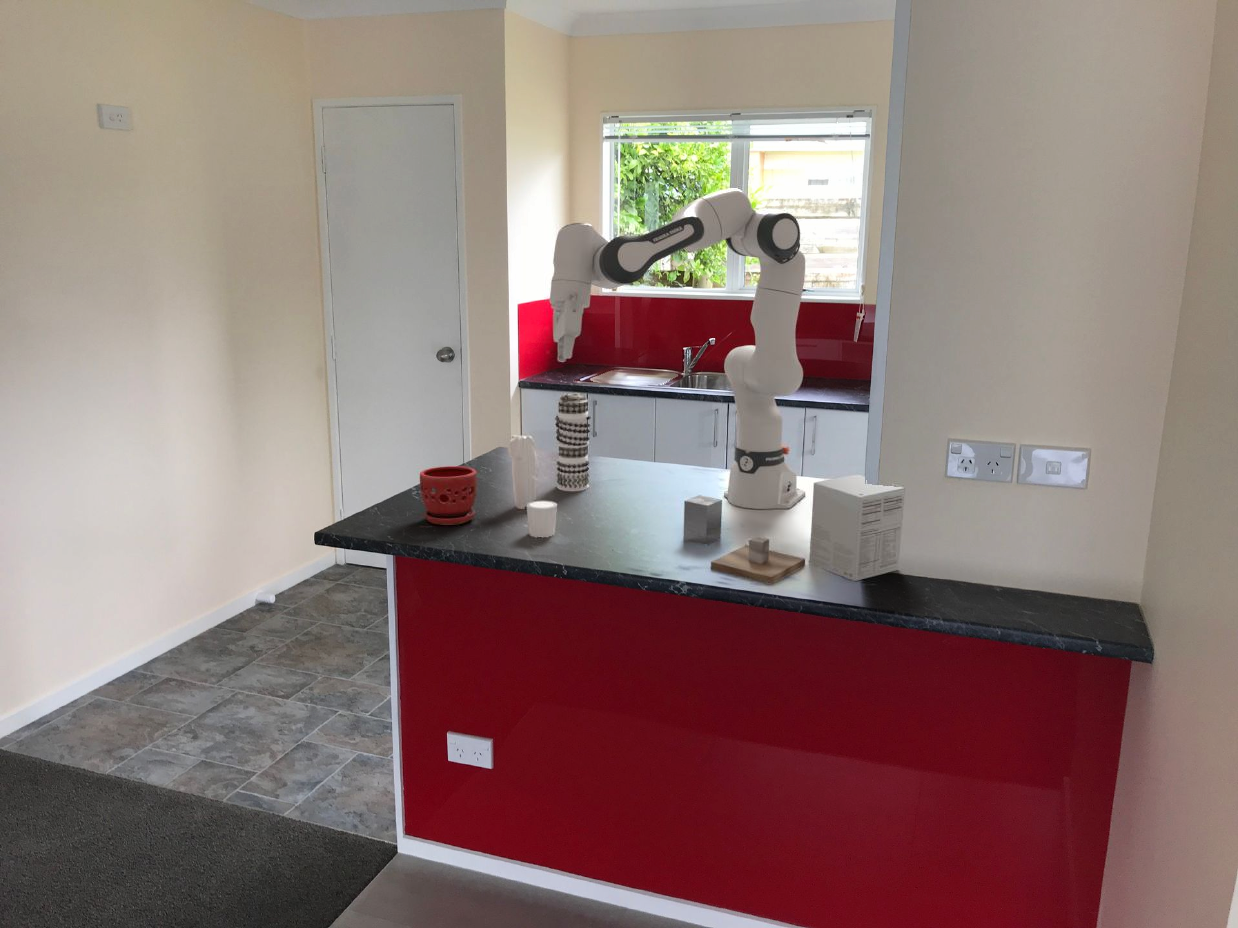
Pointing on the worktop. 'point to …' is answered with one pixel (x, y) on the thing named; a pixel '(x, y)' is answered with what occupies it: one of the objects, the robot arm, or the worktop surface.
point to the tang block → (758, 562)
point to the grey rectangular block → (702, 519)
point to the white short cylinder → (541, 518)
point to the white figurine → (524, 469)
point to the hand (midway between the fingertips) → (564, 359)
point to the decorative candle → (572, 442)
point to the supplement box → (856, 527)
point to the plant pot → (448, 494)
